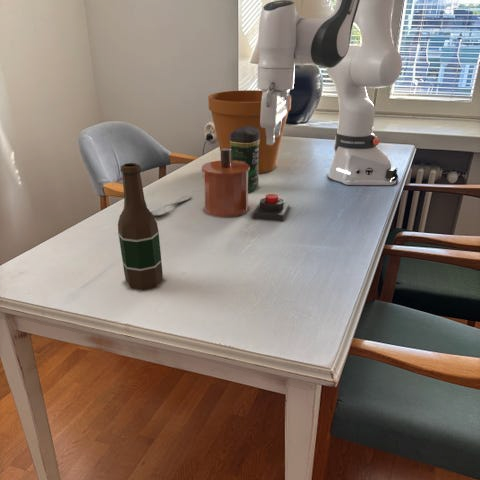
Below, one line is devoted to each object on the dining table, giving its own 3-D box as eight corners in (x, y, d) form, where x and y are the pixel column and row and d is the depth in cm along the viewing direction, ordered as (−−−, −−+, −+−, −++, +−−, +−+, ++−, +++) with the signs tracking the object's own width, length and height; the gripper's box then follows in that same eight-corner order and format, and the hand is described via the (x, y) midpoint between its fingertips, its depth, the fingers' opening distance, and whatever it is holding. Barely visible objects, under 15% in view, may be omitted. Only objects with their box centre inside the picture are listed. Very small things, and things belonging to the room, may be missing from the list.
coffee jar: (249, 194, 148) (250, 131, 138) (226, 191, 151) (225, 128, 141) (262, 186, 156) (263, 125, 146) (240, 183, 159) (240, 123, 149)
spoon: (144, 218, 131) (143, 212, 130) (182, 196, 147) (182, 191, 146) (156, 220, 130) (156, 215, 129) (194, 198, 146) (194, 192, 145)
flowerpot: (202, 175, 166) (199, 101, 153) (219, 155, 189) (218, 89, 177) (283, 179, 162) (287, 103, 149) (291, 158, 185) (294, 91, 172)
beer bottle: (127, 274, 103) (111, 159, 91) (164, 272, 104) (153, 158, 91) (123, 291, 97) (105, 171, 84) (162, 290, 97) (150, 170, 85)
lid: (253, 166, 135) (254, 145, 132) (243, 179, 125) (244, 156, 122) (209, 163, 138) (208, 142, 135) (195, 176, 127) (194, 154, 124)
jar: (251, 204, 141) (251, 164, 135) (242, 218, 131) (242, 176, 125) (211, 201, 143) (210, 162, 137) (200, 215, 133) (198, 173, 127)
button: (266, 199, 135) (266, 193, 134) (279, 200, 134) (279, 194, 133) (264, 204, 132) (264, 197, 131) (277, 204, 131) (277, 198, 130)
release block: (261, 205, 140) (261, 193, 138) (288, 207, 138) (289, 195, 137) (253, 218, 131) (253, 206, 129) (282, 221, 129) (283, 208, 128)
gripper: (282, 86, 108) (279, 150, 115) (293, 76, 125) (290, 133, 132) (254, 85, 109) (253, 148, 116) (269, 76, 126) (268, 131, 133)
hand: (273, 140), depth 124 cm, fingers open, 8 cm apart
